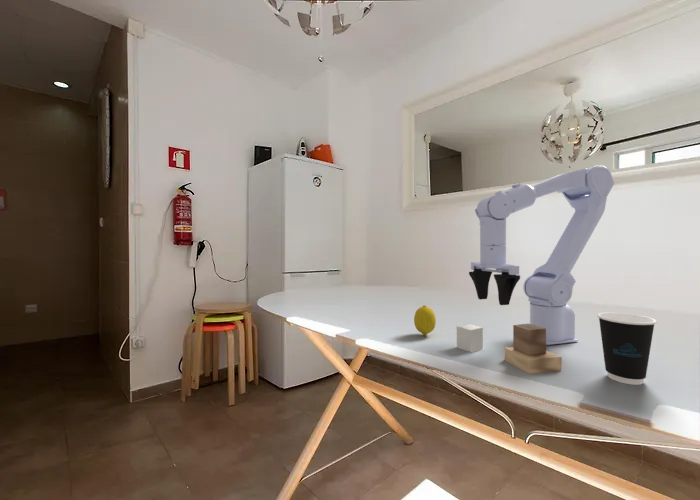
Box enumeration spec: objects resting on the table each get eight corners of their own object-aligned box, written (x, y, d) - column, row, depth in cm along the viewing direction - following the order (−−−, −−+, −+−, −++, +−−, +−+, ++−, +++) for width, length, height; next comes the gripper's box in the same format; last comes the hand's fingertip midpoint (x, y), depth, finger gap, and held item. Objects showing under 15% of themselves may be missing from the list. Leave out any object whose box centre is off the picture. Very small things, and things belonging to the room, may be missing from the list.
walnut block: (529, 347, 66) (529, 323, 66) (546, 353, 62) (545, 328, 62) (513, 349, 65) (513, 325, 65) (529, 356, 61) (529, 330, 61)
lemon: (436, 339, 81) (436, 307, 81) (414, 338, 82) (413, 307, 82) (435, 332, 86) (434, 303, 86) (414, 332, 87) (414, 302, 87)
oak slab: (534, 359, 67) (534, 345, 67) (561, 372, 60) (561, 356, 60) (504, 361, 66) (504, 347, 66) (528, 375, 59) (528, 359, 59)
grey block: (468, 344, 76) (468, 323, 76) (482, 349, 73) (482, 327, 73) (456, 347, 74) (456, 326, 74) (470, 352, 71) (470, 330, 71)
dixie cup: (627, 369, 60) (627, 311, 60) (669, 388, 53) (670, 322, 52) (585, 370, 60) (586, 312, 60) (622, 389, 52) (622, 323, 52)
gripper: (460, 245, 83) (460, 297, 83) (500, 246, 69) (500, 308, 69) (483, 245, 85) (483, 296, 85) (527, 245, 71) (527, 306, 71)
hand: (492, 301), depth 77 cm, fingers open, 7 cm apart
